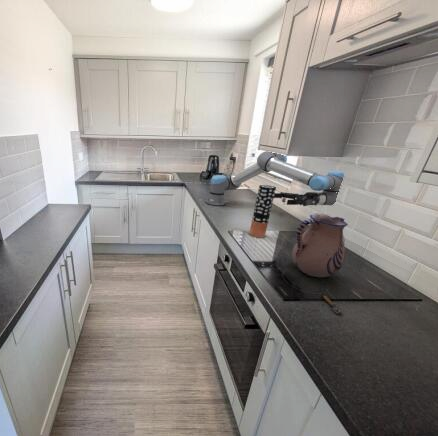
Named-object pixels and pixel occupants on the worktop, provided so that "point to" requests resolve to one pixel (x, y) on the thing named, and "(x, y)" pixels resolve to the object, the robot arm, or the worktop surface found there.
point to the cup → (258, 229)
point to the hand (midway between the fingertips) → (279, 198)
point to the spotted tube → (264, 203)
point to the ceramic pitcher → (320, 245)
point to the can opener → (332, 305)
